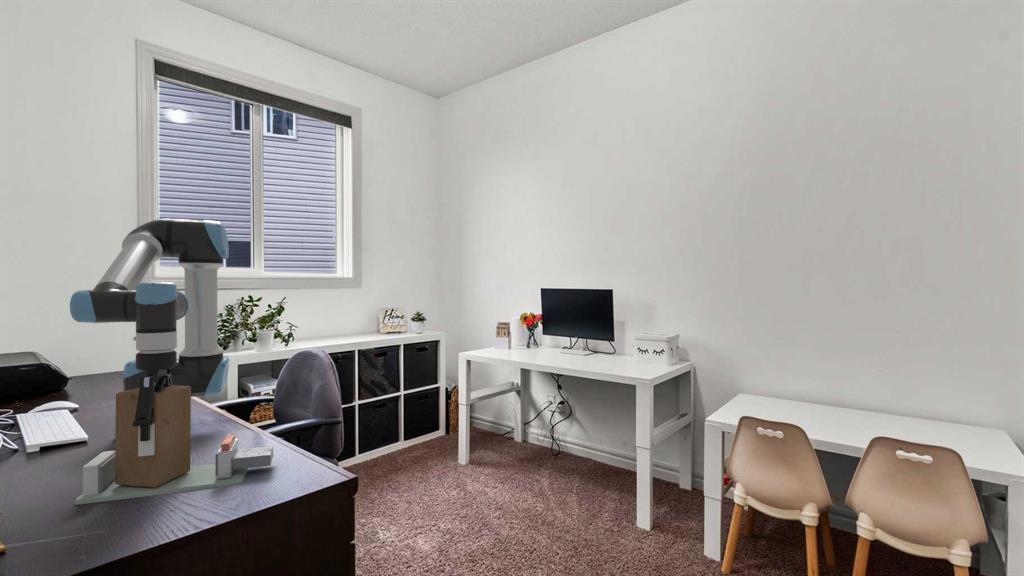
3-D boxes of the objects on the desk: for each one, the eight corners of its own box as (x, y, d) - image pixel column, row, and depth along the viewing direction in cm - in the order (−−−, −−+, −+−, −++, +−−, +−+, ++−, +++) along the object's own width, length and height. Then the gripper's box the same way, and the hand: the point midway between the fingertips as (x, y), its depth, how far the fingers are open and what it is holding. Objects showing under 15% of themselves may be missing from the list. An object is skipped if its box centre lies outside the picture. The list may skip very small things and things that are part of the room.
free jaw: (223, 464, 121) (223, 433, 121) (273, 458, 125) (273, 429, 125) (214, 479, 112) (215, 446, 112) (269, 472, 116) (269, 440, 116)
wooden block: (155, 488, 107) (156, 394, 107) (113, 485, 108) (114, 392, 108) (191, 471, 117) (192, 385, 117) (152, 468, 118) (153, 383, 118)
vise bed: (103, 479, 115) (103, 449, 115) (250, 464, 125) (250, 436, 125) (75, 504, 102) (75, 470, 102) (241, 484, 112) (241, 453, 112)
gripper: (154, 345, 123) (154, 432, 123) (114, 359, 99) (114, 466, 99) (189, 344, 125) (189, 429, 125) (159, 357, 102) (159, 462, 102)
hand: (156, 445), depth 112 cm, fingers closed on wooden block, 13 cm apart
